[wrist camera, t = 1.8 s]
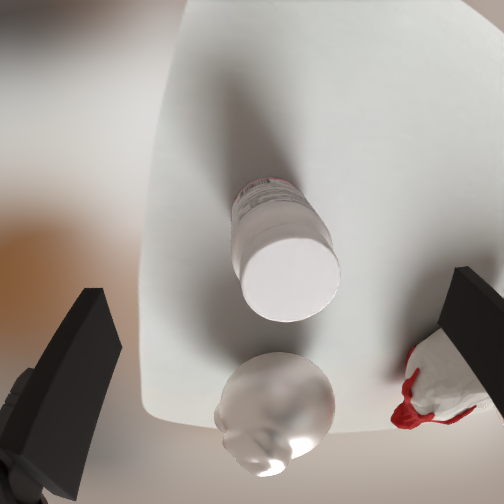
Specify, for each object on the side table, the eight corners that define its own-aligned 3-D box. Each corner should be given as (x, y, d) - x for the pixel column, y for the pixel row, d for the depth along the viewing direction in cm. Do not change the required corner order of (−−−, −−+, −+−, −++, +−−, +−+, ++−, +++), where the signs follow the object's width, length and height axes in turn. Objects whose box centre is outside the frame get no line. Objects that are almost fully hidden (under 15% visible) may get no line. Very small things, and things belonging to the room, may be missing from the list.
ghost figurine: (206, 334, 24) (196, 445, 15) (326, 323, 24) (362, 427, 15) (221, 401, 28) (220, 492, 19) (318, 392, 28) (339, 480, 19)
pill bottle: (294, 252, 21) (325, 336, 13) (224, 239, 20) (219, 322, 13) (315, 185, 19) (367, 240, 11) (240, 167, 18) (244, 213, 11)
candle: (502, 299, 24) (424, 387, 32) (439, 280, 22) (354, 386, 30) (544, 362, 16) (446, 446, 24) (492, 364, 14) (372, 460, 22)
